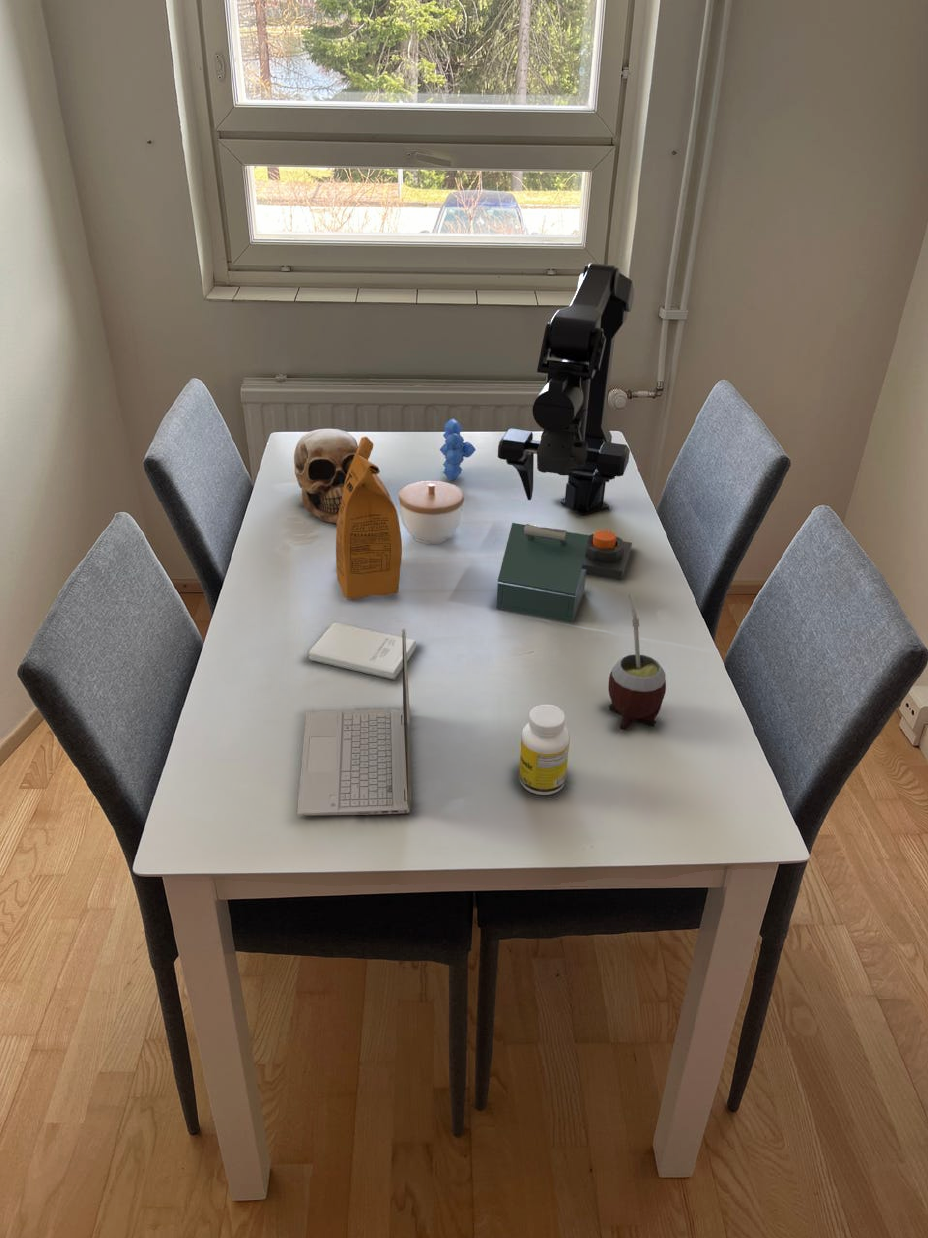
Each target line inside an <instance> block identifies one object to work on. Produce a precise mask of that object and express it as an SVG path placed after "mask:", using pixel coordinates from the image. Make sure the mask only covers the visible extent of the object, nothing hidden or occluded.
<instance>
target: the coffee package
mask: <svg viewBox="0 0 928 1238" xmlns="http://www.w3.org/2000/svg"><path fill="white" fill-rule="evenodd" d="M373 449H374V442H372V440H371V439H370V438H368V436H362V437H361V438H360V439H359V443H358V449H357V451H356V454H355V456H354V458H353V461H352V464H351V466H350V468H349V470H348V473H347V476H346V479H345V484H344V491H343V496H342V500H341V504H340V508H339V513H338V518H337V524H336V535H335V564H336V566H335V567H336V577H337V578H336V579H337V582H338V584H339V587H340V590H341V592H342V594H343V596H344V598H345V599H347V600H356V599H360V598H366V597H370V596H389V595H393V594H396V593H398V592H399V589H400V578H401V577H400V576H401V568H402V567H401V566H402V560H403V559H402V558H403V543H402V542H403V541H402V532H401V526H400V520H399V519H400V518H399V514H398V511H397V509H396V506H395V504H394V502H393V500H392V498H391V495H390V493H389V490H388V489H387V487H386V486H385V484H384V483H383V481H382V480H381V478H380V477H379V474H380V472H381V470H380V468H379V466H378V465H376V464H374V463H373V462H371V461H370V460H369V459H370V457H371V454H372V452H373Z"/></svg>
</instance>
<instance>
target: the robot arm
mask: <svg viewBox="0 0 928 1238" xmlns="http://www.w3.org/2000/svg"><path fill="white" fill-rule="evenodd" d="M634 296H635V288H634V283H633V280H632V279H630V278H629V277H627V276H625V275H624V274H623V273H621V272H620V268H619V267H617V266H615V265H613V264H603V263H592V262H591V263H589V264H585V265H584V267H583V272H582V273H581V274H580V275H579V278H578V282H577V288H576V292H575V294H574V297H573V299H572V301H571V303H570V305H569V306H566V307H563V308H560V309H558V310H557V311H556V312H555V314H554V315H553V317H552V318H551V320H550V322H549V321H548V322H547V323H546V326H545V328H544V333H543V339H542V344H541V349H540V352H539V359H538V363H537V368H536V372H537V373H540V374H547V379H546V383H545V385H544V387H543V388H542V389H541V391H540V392H539V393H538V395H537V397H536V398H535V400H534V402H533V404H532V410H531V411H532V416H533V420H534V421H535V423H536V424H537V425H538V426H539V427H540V428H541V429H543V431H542V434H541V436H540V440H536V439H534V434H533V431H530V430H523V429H517V428H509V429H508V430H506V431H505V433H504V435H503V436H502V437H501V438H500V440H499V442H498V446H497V458H498V459H500V460H504V461H505V462H506V464H507V465H508V466H512V467H513V468H514V469H516V471H517V473H518V475H519V477H520V480H521V483H522V486H523V491H524V493H525V496H526V499H527V501H531V500H532V498H533V492H534V465H535V464H534V461H535V455H536V464H537V465H536V467H537V468H536V469H537V470H538V472H540V473H543V474H546V473H551V474H557V475H559V476H567V477H568V478H567V482H566V484H565V495H564V498H561V499H560V500H559V501H560V503H561V504H562V505H564V506H565V507H567V508H569V509H570V510H571V511H573V512H575V513H577V514H578V515H580V516H586V515H589V514H592V513H593V514H594V513H596V512H600V511H603V510H606V509H609V508H610V504H608V503H607V502H606V501H605V491H606V484H607V483H609V482H610V481H611V480H614V479H616V477H623V476H624V474H625V472H626V470H627V466H628V464H629V462H630V461H629V460H630V455H631V454H630V453H631V450H630V447H629V446H628V445H627V444H623V443H615V442H612V441H613V440H612V439H613V436H612V433H611V431H610V428H609V427H608V425H607V422H606V414H607V406H608V405H607V404H608V395H609V389H610V388H609V386H610V380H611V379H610V378H611V371H612V363H613V354H614V347H615V346H614V345H615V337H616V334H617V333H618V332H619V330H620V329H621V327H622V326H623V324H624V323H625V322H626V321H627V318H628V314H629V313H631V311H632V308H633V304H634ZM548 357H549V358H550V359H548ZM553 359H557V360H553ZM558 359H559V360H558Z"/></svg>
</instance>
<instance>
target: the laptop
mask: <svg viewBox="0 0 928 1238" xmlns="http://www.w3.org/2000/svg"><path fill="white" fill-rule="evenodd" d="M401 635H402V636H401V637H402V644H403V668H402V708H401V707H400V708H371V709H370V708H369V709H368V708H367V709H339V710H338V709H335V710H308V711H306V714H305V724H304V725H305V726H304V733H303V745H302V757H301V767H300V768H301V769H300V781H299V789H298V790H299V791H298V800H297V812H296V814H297V816H357V815H358V816H362V815H365V816H366V815H397V814H398V815H399V814H400V815H401V814H409V813H410V812H411V806H412V805H411V804H412V803H411V801H412V788H411V787H412V786H411V783H412V782H411V779H412V778H411V776H412V775H411V711H410V693H409V674H408V661H407V654H406V639H407V636H406V629H405V628H403V629H401Z"/></svg>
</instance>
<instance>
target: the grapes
mask: <svg viewBox="0 0 928 1238" xmlns="http://www.w3.org/2000/svg"><path fill="white" fill-rule="evenodd" d="M443 428H444V431H445V432H444V433H443V434H442V436H443V438H444V439H445V440H444V443H443V444H442V445H441V447H440V449H439V451H440V452H441V453H442V455H443V456H444V459H445V461H444V462H443V463H442V465H443V467H444V470H443V474H444V475H445V477H446V478H447V479H448V480H450V481H454V480H456V479H457V478H458V477H459V476H460V475H461V473H462V471H463V468H462V467H461V464H462V463H463V462H464V460H465V458H470V457H471V456H472V455H473V454H474V453H475V451H477V450H476V448H475V446H474V445H473V444H472V442H469V441H465V438H464V437H463V436H462V435H461V432H462V431H463V427H462V425H461V424H460V423H459V422H458V420H456V419H455V418H451V419H448V421H447V422H446V423H445V424H444V425H443Z"/></svg>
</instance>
